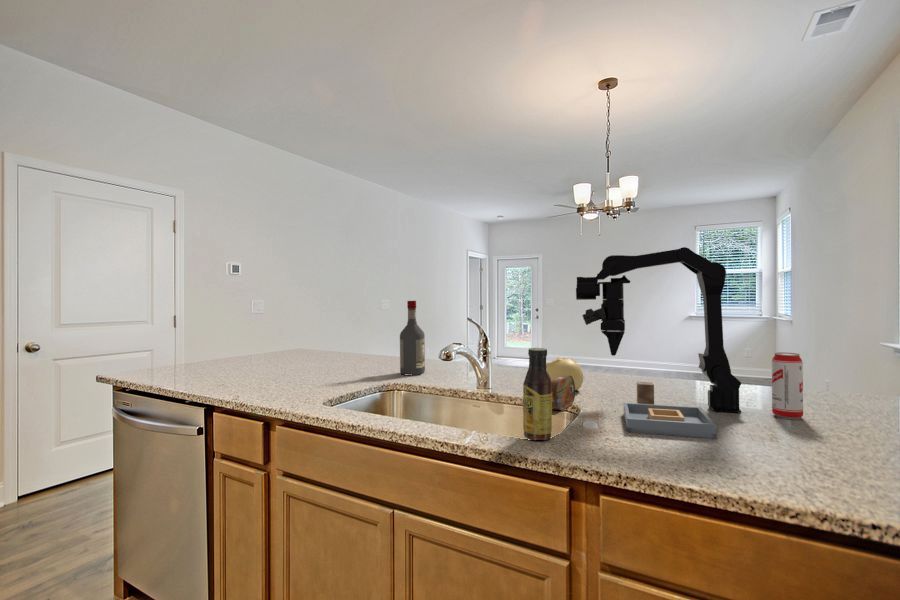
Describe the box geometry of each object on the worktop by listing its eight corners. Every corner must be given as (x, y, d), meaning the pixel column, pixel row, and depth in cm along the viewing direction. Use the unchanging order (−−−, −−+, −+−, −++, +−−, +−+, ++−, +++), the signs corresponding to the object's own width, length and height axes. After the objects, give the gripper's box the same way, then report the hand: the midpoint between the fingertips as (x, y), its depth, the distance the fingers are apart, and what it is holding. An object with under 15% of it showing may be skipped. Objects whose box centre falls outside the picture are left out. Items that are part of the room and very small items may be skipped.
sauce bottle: (520, 434, 102) (519, 347, 102) (547, 432, 103) (546, 346, 103) (527, 443, 96) (526, 350, 96) (556, 442, 96) (555, 349, 96)
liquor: (399, 375, 181) (397, 301, 181) (405, 371, 190) (403, 300, 190) (421, 375, 179) (419, 300, 179) (426, 371, 188) (425, 300, 188)
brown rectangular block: (652, 407, 125) (652, 382, 125) (654, 410, 121) (653, 384, 121) (637, 406, 126) (636, 381, 126) (638, 409, 122) (637, 384, 122)
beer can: (797, 414, 115) (796, 352, 115) (807, 421, 109) (807, 355, 109) (768, 412, 117) (768, 351, 117) (777, 419, 111) (776, 354, 111)
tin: (558, 413, 120) (557, 382, 119) (547, 412, 121) (546, 381, 121) (576, 402, 132) (576, 373, 132) (565, 400, 134) (565, 372, 134)
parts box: (700, 419, 112) (700, 407, 112) (716, 438, 97) (716, 424, 97) (623, 414, 118) (623, 402, 118) (627, 431, 103) (627, 418, 103)
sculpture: (569, 385, 156) (568, 354, 156) (590, 392, 145) (590, 359, 145) (540, 387, 153) (539, 356, 153) (559, 395, 141) (559, 361, 141)
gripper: (586, 299, 141) (587, 349, 141) (581, 300, 124) (581, 356, 124) (624, 299, 137) (625, 349, 137) (624, 299, 120) (625, 358, 120)
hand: (613, 353), depth 130 cm, fingers open, 9 cm apart
